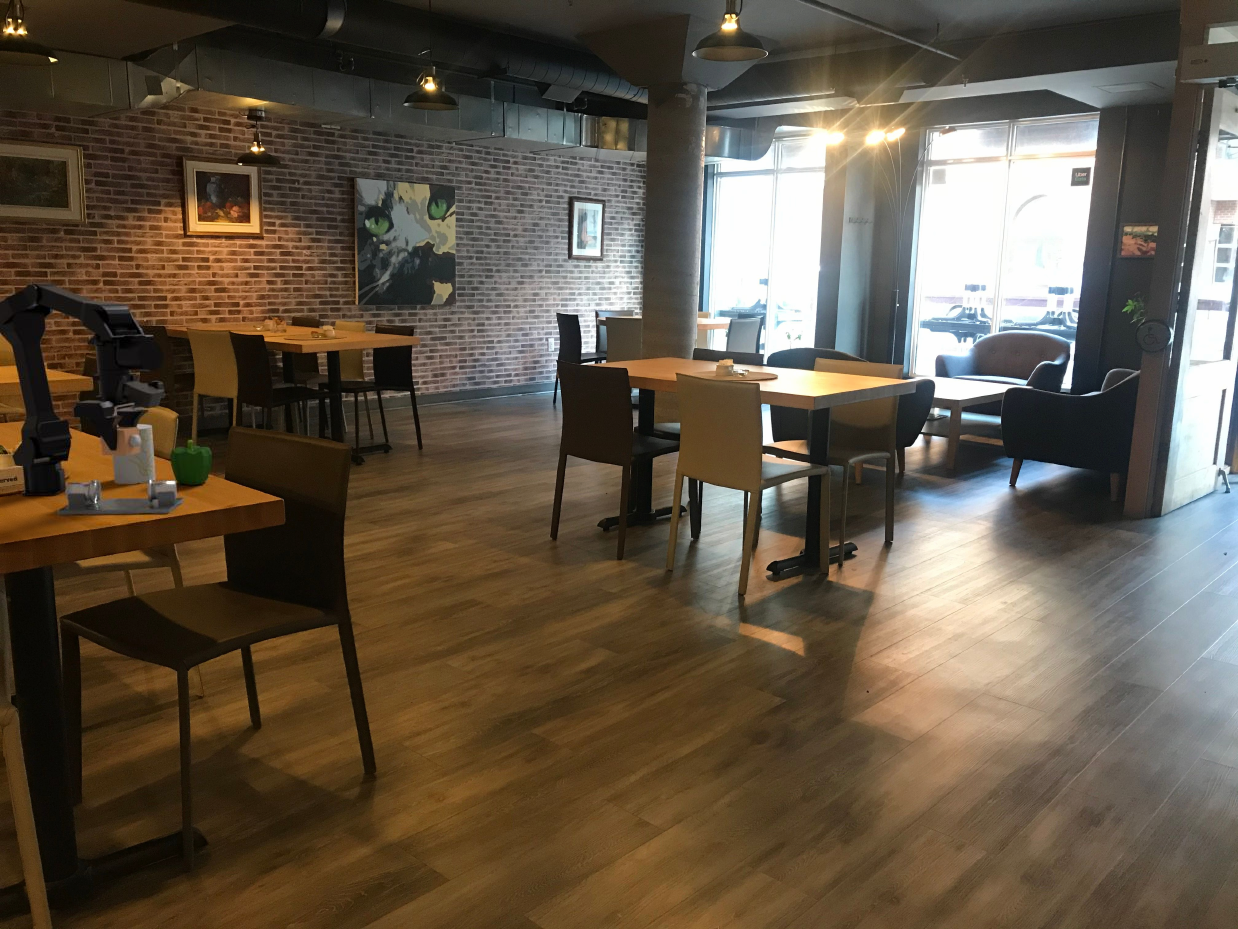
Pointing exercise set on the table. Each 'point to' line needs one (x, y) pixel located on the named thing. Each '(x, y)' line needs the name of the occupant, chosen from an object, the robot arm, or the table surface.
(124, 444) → the coupler
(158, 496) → the shaft
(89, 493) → the bench
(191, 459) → the bell pepper
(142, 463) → the cup
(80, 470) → the table surface
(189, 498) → the table surface
